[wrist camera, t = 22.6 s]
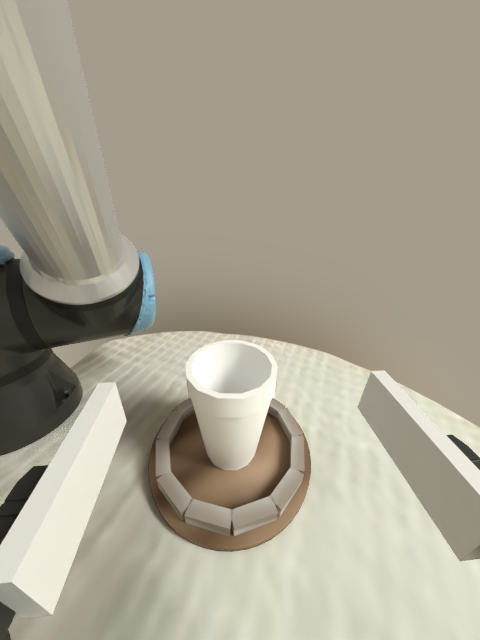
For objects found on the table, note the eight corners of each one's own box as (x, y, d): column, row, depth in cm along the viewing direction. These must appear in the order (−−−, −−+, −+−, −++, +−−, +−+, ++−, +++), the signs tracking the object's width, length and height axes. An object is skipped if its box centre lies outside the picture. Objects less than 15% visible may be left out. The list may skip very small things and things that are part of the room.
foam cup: (209, 410, 35) (205, 335, 29) (270, 422, 33) (280, 345, 28) (181, 474, 27) (168, 389, 21) (262, 494, 25) (272, 408, 19)
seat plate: (120, 452, 30) (115, 439, 29) (230, 376, 43) (230, 365, 42) (232, 622, 18) (232, 612, 17) (336, 446, 31) (340, 434, 30)
